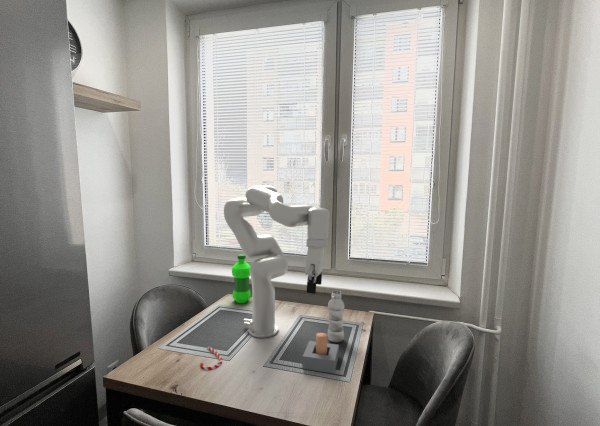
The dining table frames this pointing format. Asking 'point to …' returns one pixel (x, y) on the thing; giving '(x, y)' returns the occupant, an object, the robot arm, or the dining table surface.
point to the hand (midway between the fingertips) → (314, 288)
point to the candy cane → (214, 365)
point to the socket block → (320, 358)
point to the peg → (321, 343)
